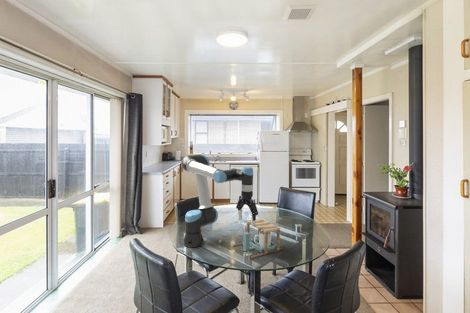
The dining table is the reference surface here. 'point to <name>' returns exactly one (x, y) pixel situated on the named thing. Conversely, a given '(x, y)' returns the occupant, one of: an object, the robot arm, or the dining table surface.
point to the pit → (279, 242)
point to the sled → (248, 241)
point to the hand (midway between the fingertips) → (246, 222)
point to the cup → (262, 238)
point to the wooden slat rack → (266, 228)
